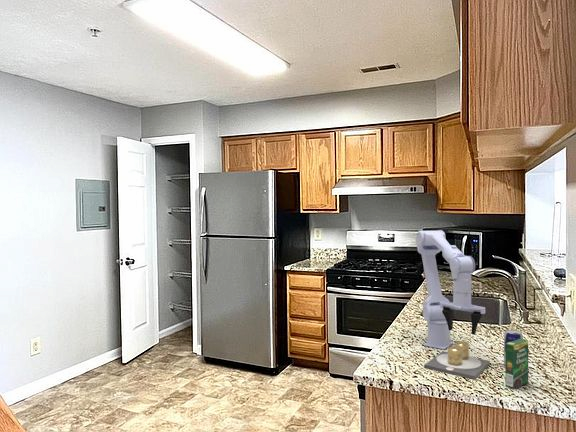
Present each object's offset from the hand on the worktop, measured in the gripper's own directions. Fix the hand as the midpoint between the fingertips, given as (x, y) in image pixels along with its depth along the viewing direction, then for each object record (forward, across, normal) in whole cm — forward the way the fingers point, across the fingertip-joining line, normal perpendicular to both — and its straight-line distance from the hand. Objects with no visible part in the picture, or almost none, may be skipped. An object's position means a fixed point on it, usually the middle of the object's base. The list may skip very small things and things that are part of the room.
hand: (461, 331), depth 152 cm
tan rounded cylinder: (+9, 0, 0) cm, 9 cm away
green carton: (+11, +19, -10) cm, 24 cm away
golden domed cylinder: (+9, 0, -7) cm, 11 cm away
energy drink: (+11, +15, +4) cm, 19 cm away
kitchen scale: (+10, 0, -4) cm, 11 cm away
